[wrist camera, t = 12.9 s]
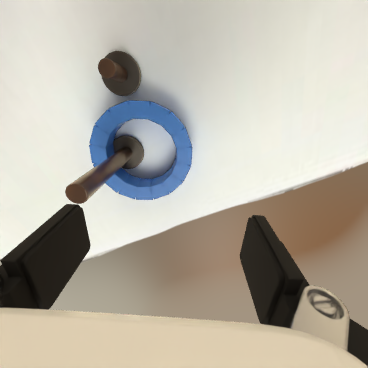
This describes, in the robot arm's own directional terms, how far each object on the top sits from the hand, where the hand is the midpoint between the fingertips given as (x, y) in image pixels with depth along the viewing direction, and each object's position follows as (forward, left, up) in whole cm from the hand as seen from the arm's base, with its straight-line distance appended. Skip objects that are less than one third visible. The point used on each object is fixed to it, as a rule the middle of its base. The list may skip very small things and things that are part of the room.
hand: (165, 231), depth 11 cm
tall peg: (+8, 0, -19) cm, 20 cm away
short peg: (+8, -10, -19) cm, 22 cm away
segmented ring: (+5, 0, -18) cm, 19 cm away
